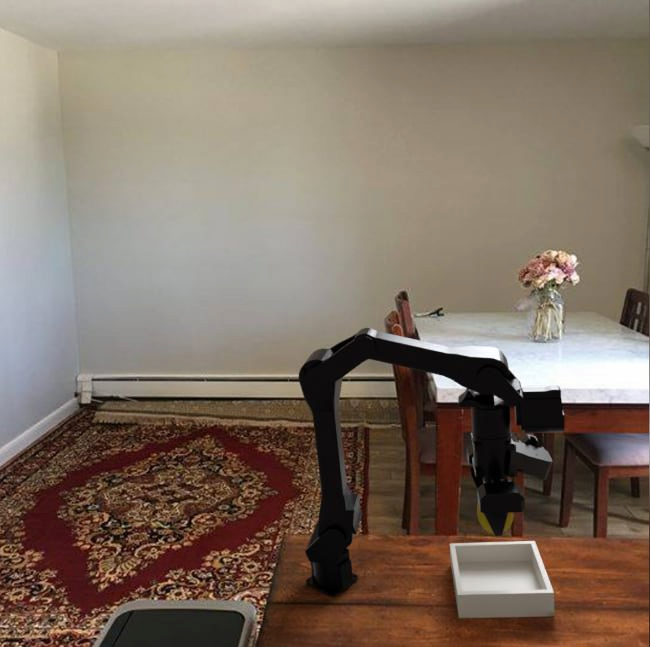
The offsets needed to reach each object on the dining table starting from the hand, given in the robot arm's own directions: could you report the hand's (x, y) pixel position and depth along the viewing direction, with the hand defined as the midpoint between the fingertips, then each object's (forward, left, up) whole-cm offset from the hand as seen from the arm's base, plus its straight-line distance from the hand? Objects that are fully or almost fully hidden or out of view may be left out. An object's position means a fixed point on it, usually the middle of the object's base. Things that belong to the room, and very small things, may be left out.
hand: (495, 525), depth 108 cm
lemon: (0, 0, -2) cm, 2 cm away
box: (0, 0, -11) cm, 11 cm away
